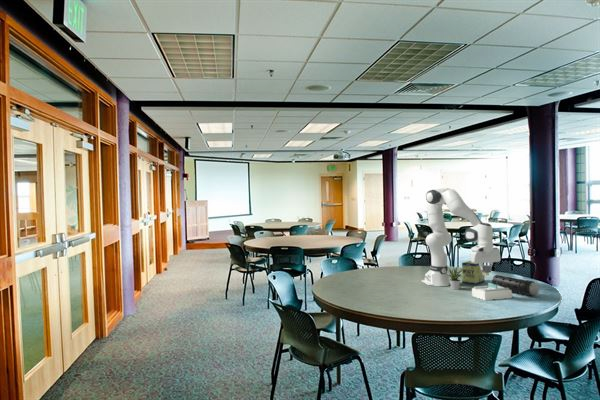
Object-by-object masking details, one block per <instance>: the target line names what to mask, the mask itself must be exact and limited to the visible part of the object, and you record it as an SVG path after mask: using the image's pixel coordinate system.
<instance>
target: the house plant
mask: <svg viewBox="0 0 600 400" xmlns="http://www.w3.org/2000/svg"><path fill="white" fill-rule="evenodd" d="M452 267H453V268H452V270H451V268H449V266H448V267H447V268H448V272H449V280H450V285H449V286H450V289H452V290H453V291H454V290H455V291H458V290H460V285H461V280H460V279H459V278H460V277H462V270H465V269H462V268H461V269H460V270H459V271H458V266H456V267H454V266H452ZM463 277H464V276H463ZM450 278H451V279H450Z"/></svg>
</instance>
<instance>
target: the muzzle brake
mask: <svg viewBox="0 0 600 400" xmlns="http://www.w3.org/2000/svg"><path fill="white" fill-rule="evenodd" d="M491 283H492V284H496V285H499V286H501V287H504V288H509V290H512V293H516V294H520V295H521V294H522V295H521V296H524V295H527V296H529V297H533V296H537V295H538V294H539V292H540V286H539V284H538V283H537V282H535V281H533V280H527V279H526V280H525V279H520V278H515V277H510V276H505V275H501V274H495V275H493V277H492V280H491Z"/></svg>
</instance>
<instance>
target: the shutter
mask: <svg viewBox="0 0 600 400" xmlns="http://www.w3.org/2000/svg"><path fill="white" fill-rule="evenodd" d="M487 286H488V288H491V289H499V288H504V287H501V286H497V285H496V284H492V282H487Z"/></svg>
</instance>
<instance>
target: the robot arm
mask: <svg viewBox="0 0 600 400" xmlns="http://www.w3.org/2000/svg"><path fill="white" fill-rule="evenodd" d="M425 200H426V202H427V203H426V213H427V219H428V225H429V227H430V228H431V230H432V232H431V233H429V234H427V235H426V238H425V244H426V246H428V248H429V251H430V252H429V253H430V258H431V259H430V260H431V261H430V262H431V264H430V265H429V270H428V271H427V272H426V273H425V275H424V279H421V283H424V284H426V285H427V286H435V287H448V286H451V285H450V276H449V275H450V272H449V269H448V268H449V266H448V255H447V253H446V251H445V248H444V247H446V246H448V245H450V244H451V242H452V240H453V239H452V235H451V234H450V233H449V231H448V229H447V226H446V223H445V219H444V212H443V211H444V210H443V206H444V205H445V206H446V207H447V208H448V211H450V213H452V215H454V216H457V217H461V218H463V219H465V220H467V221H469V223H470V224H471V225H472V227H471V226H470V227H468V228H466V229H465V232H464V237H465V239H466V240H467V241H468V242H470V243H477V244H476V245H475V246H473V247H470V250H471V252H470V261H471V262H472V263H479V265H480V268H481V270H484V267H483V266H482V265H483V263H484V264H487V263H488V266H491V270H492V267H493V265H494V263H500V262H501V259H502V258H501V253H500V248H498V247H494V242H493V238H494V232H493V227H492V225H491V224H490V223H487V222H482V220H481V219H480V217H479V216H478V215H477V214H476V213H475V211H474V210H472V208H471V207H469V206H468V205H467V204H466V202H465V201H464V200H463V198H462V197H461V195H460V194H459V192H457V191H456V190H455V189H452V188H435V189H431V190H428V191H427V192H426V194H425ZM447 267H448V268H447Z"/></svg>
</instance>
